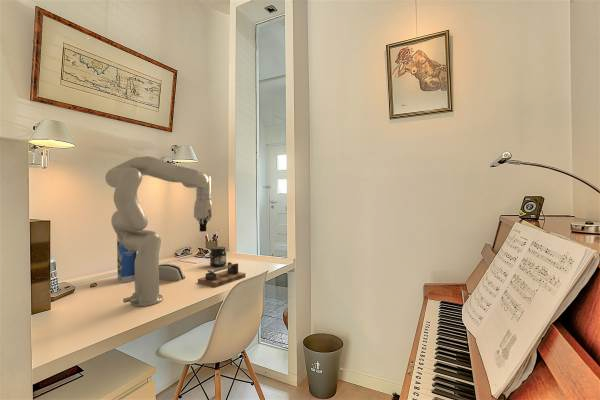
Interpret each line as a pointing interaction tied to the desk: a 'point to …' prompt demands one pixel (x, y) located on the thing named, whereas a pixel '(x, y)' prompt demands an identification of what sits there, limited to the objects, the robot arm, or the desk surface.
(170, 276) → the grey curved block
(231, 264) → the strap
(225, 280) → the strap board
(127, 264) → the string lights box
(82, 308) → the desk surface
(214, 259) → the supplement container
